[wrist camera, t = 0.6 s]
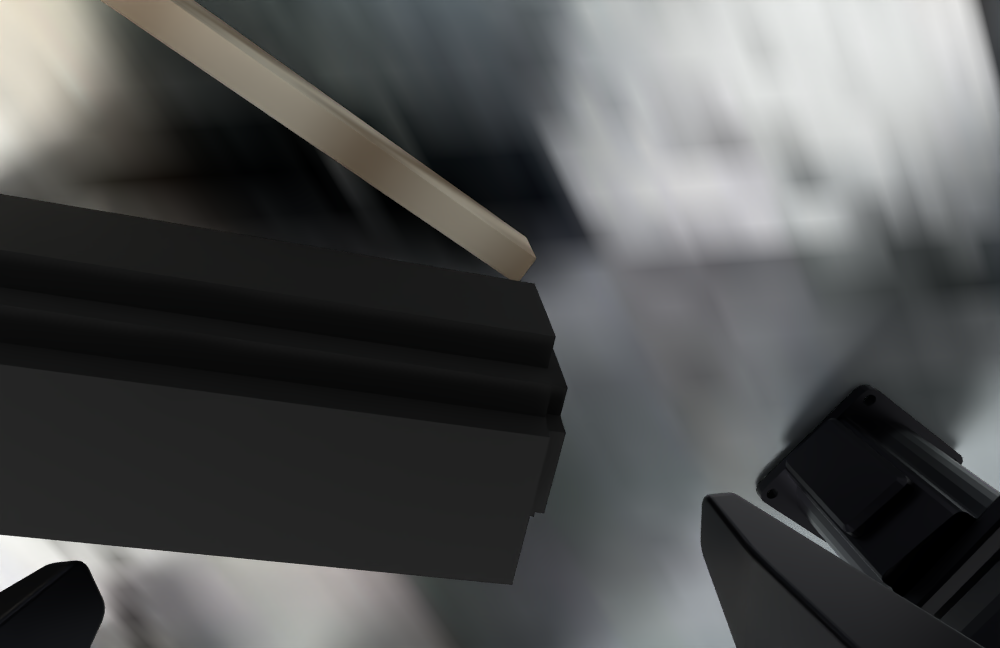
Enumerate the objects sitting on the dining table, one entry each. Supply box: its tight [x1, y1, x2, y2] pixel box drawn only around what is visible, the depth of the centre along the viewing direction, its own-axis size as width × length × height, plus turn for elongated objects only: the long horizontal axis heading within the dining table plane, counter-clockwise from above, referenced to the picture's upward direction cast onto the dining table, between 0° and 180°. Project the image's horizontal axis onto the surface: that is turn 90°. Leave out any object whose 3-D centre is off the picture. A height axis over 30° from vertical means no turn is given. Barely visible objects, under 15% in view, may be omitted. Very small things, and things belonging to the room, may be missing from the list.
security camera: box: [0, 194, 567, 585], centre depth 15 cm, size 7×18×10 cm, turn 79°
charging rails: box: [101, 0, 536, 281], centre depth 16 cm, size 24×14×4 cm, turn 54°
